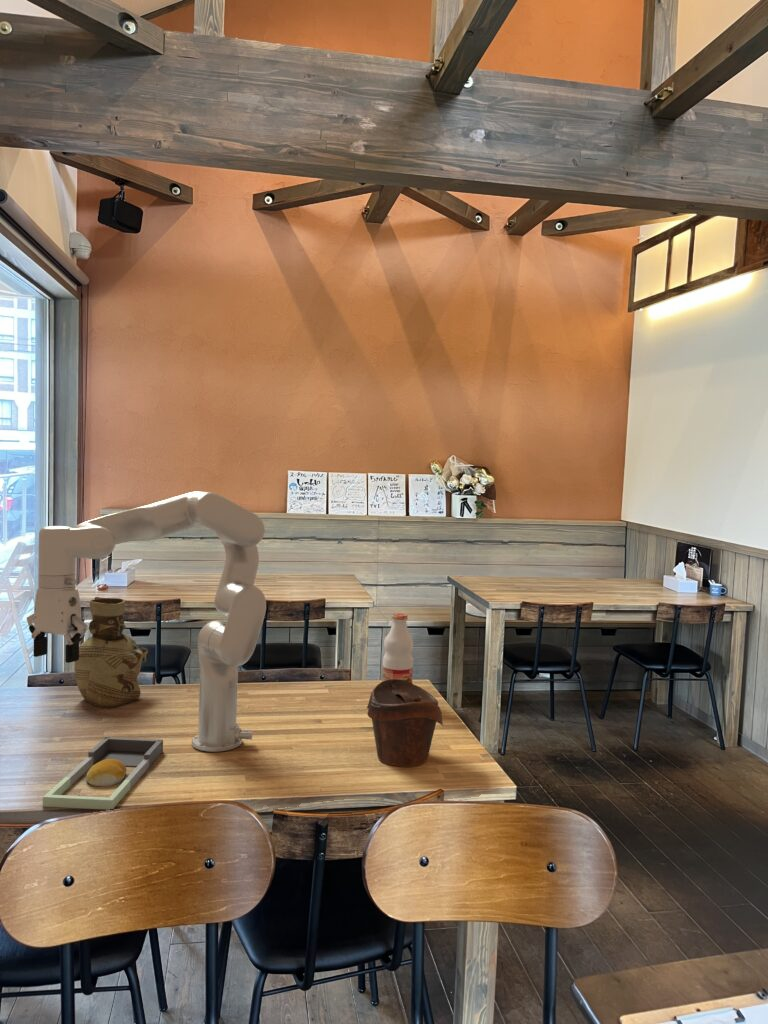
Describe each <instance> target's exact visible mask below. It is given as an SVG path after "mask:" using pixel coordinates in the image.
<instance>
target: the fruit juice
mask: <svg viewBox="0 0 768 1024" xmlns="http://www.w3.org/2000/svg"><path fill="white" fill-rule="evenodd" d="M408 617H409V616H408V614H406V613H393V614H392V615H391V622H392V623H391V626H390V630H389V632H388V633H387V634H386V636H385V637H384V640H383V648H384V655H383V657H382V667H381V668H382V671H381V673H382V674H381V682H383V681H386V680H390V679H398V680H403V681H407V682H410V683H412V684H413V678H414V677H413V674H414V671H413V670H414V658H413V655H412V653H413V652H412V651H413V649H414V640H413V638H412V636H411V634H410V633H409V629H408V626H407V625H408V624H407V621H408Z"/></svg>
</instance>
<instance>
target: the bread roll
mask: <svg viewBox="0 0 768 1024" xmlns="http://www.w3.org/2000/svg"><path fill="white" fill-rule="evenodd" d="M126 773H127V766H125V765H124V764H123V763H122V762H121V761H119V760H115V759H106V760H102V761H100V762H98V763H96V764H95V765H93V766H92V767H90V768H89V769H88V770H87V773H86V778H85V780H86V782H87V783H88V784H90V785H91V786H95V787H108V786H109V787H110V786H113V785H116V784H118V783H121V782H123V781H124V778H125V776H126Z"/></svg>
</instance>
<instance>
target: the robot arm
mask: <svg viewBox="0 0 768 1024" xmlns="http://www.w3.org/2000/svg"><path fill="white" fill-rule="evenodd" d="M196 527H204V528H208V529H209V530H211V531H214V532H215V533H216V536H217V537H218V539H219V540H220V541H221V543H222V544H223V548H224V551H225V560H224V561H225V562H224V566H223V569H222V573H221V576H220V580H219V583H218V586H217V590H216V593H215V596H214V601H213V603H214V604H213V605H214V607H215V610H216V611H217V612H218V613H219V614H220V615H222V616H223V617H226V618H227V620H226V621H224V620H211V621H209V622H208V623H206V624H204V626H203V627H202V628H201V629H200V631H199V633H198V636H197V654H198V661H199V663H198V664H199V689H198V690H199V692H198V694H199V695H198V697H199V698H198V729H197V734H196V735H195V736H193V737H192V738H191V746H192V747H193V748H194V749H196V750H199V751H202V752H211V753H217V752H226V751H230V750H233V749H236V748H238V747H239V746H240V745H242V742H243V740H253V737H254V734H253V733H254V732H253V731H251V729H250V728H245V729H242V728H241V727H240V722H237V714H238V712H237V710H238V709H237V707H238V682H239V681H238V680H239V676H238V675H239V673H238V667H240V666H243V665H244V664H246V663H247V662H248V661H249V660H250V659H251V657H253V654H254V652H255V649H256V646H257V643H258V641H259V637H260V635H261V634H260V633H261V630H262V626H263V624H264V619H265V616H266V611H267V600H266V597H265V594H264V593H263V591H262V590H261V589H260V588H259V587H257V586H255V582H256V581H255V580H256V576H257V573H258V568H259V564H260V563H259V562H260V559H259V558H260V556H259V550H258V546H257V545H258V544H259V543H260V542H261V541H262V540H263V538H264V535H265V530H266V529H265V524H264V522H263V520H262V518H261V517H260V516H258V515H257V514H256V513H254V512H252V511H250V510H248V509H247V508H245V507H243V506H241V505H239V504H237V503H235V502H233V501H231V500H229V499H227V498H226V497H224V496H222V495H220V494H218V493H216V492H211V491H201V490H196V491H191V492H187V493H184V494H180V495H177V496H173V497H170V498H167V499H164V500H160V501H157V502H156V501H155V502H153V503H150V504H147V505H142V506H138V507H135V508H131V509H127V510H122V511H119V512H114V513H111V514H107V515H104V516H100V517H97V518H94V519H90V520H87V521H84V522H81V523H79V524H77V525H75V526H74V527H72V526H67V525H50V526H49V525H48V526H43V527H42V528H40V530H39V532H38V575H37V576H38V581H37V582H38V587H37V589H36V593H35V600H34V609H33V613H32V614H30V615H28V616H27V617H26V621H27V625H28V631H29V632H30V633H31V639H33V657H35V658H38V657H42V656H45V655H47V654H48V636H46V635H47V634H52V635H59V636H63V637H64V640H65V641H66V643H67V644H65V657H64V658H65V659H64V661H65V663H67V664H69V663H75V661H77V660H79V646H80V644H82V643H81V642H83V639H84V637H85V636H86V632H87V630H88V629H89V625H88V624H87V623H85V622H84V621H83V620H82V606H81V598H80V594H79V593H80V592H79V589H78V588H77V587H76V584H77V579H76V563H77V561H76V560H77V558H78V559H88V560H101V559H104V558H106V557H109V556H110V555H111V554H112V552H114V550H115V547H116V545H119V544H122V543H123V544H124V543H131V542H146V541H147V542H149V541H154V540H155V541H156V540H160V539H164V538H166V537H168V536H172V535H175V534H177V533H180V532H183V531H188V530H189V529H193V528H196Z"/></svg>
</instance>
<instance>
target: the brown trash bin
mask: <svg viewBox="0 0 768 1024" xmlns="http://www.w3.org/2000/svg"><path fill="white" fill-rule="evenodd" d="M366 709H368V711H367V717H369V718H370V719H371V722H372V729H373V735H374V741H375V748H376V755H377V758H378V761H380V762H382V763H384V764H387V765H390V766H393V767H400V768H411V767H413V768H414V767H417V766H418V767H419V766H421V765H423V764H425V763H426V762H427V760H428V759H429V754H430V751H431V746H432V741H433V737H434V734H435V728H436V724H437V723H438V724H440V725H441V726H442V727H444V723H443V712H442V709H441V707H440V706H439V701H438V700H437V699H436V698H435V697H434V696H433V695H432V694H431V693H429V691H427V690H425V689H423V688H422V687H420V686H418V685H416V684H414V683H413V682H412V683H410V682H407V681H403V680H398V679H390V680H386V681H383V682H382V681H381V682H379V683H378V684H377V685H376V686H375V687H374V688H373V689H372V691H371V692H370V697H369V701H368V703H367V705H366Z"/></svg>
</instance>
